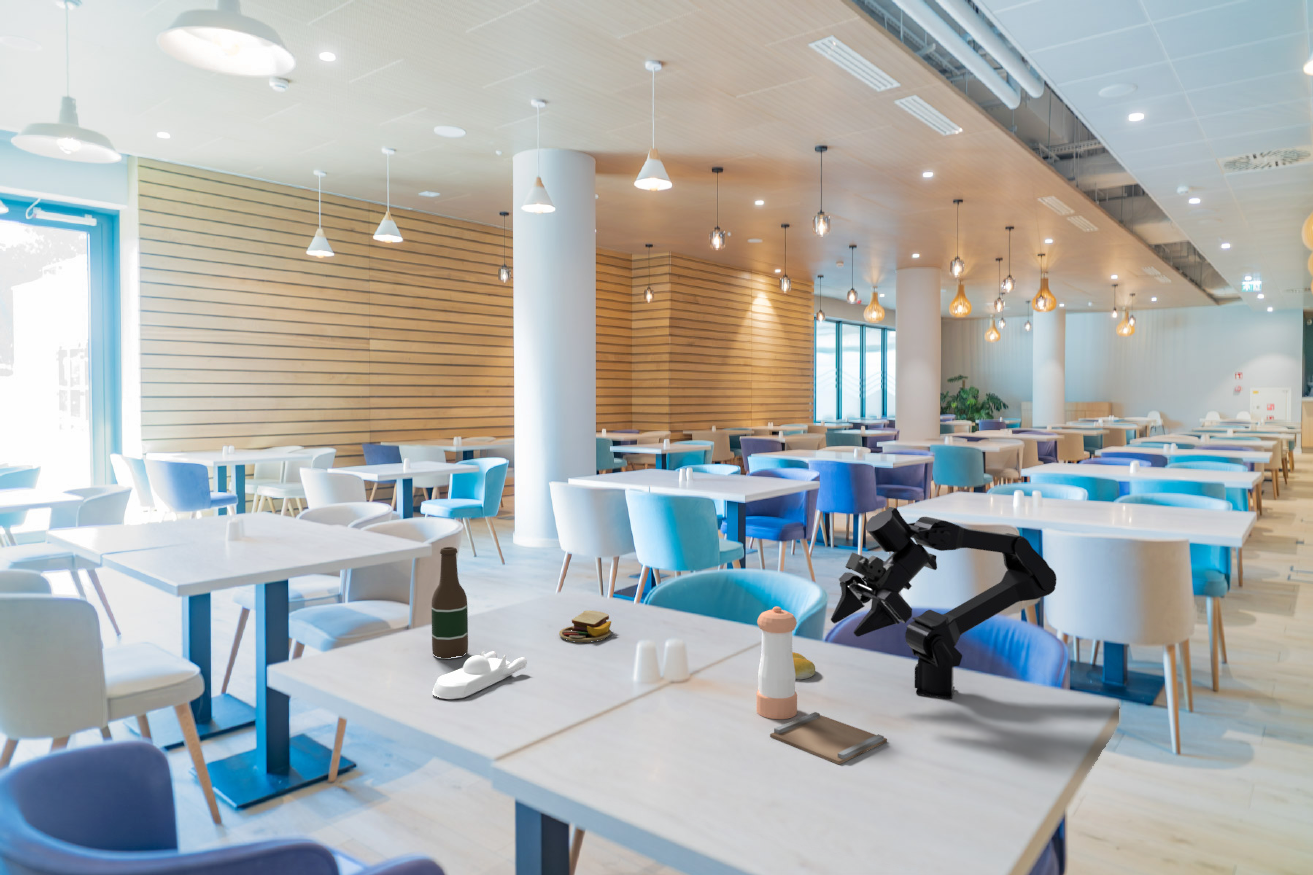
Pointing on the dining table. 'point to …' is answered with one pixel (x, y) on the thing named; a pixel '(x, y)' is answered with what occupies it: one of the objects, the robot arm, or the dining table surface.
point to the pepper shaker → (776, 666)
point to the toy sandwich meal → (588, 627)
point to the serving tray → (827, 737)
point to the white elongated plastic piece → (476, 675)
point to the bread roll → (802, 667)
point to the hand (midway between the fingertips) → (843, 628)
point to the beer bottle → (449, 610)
